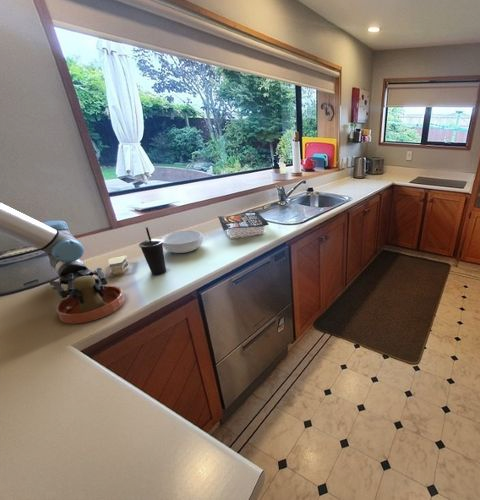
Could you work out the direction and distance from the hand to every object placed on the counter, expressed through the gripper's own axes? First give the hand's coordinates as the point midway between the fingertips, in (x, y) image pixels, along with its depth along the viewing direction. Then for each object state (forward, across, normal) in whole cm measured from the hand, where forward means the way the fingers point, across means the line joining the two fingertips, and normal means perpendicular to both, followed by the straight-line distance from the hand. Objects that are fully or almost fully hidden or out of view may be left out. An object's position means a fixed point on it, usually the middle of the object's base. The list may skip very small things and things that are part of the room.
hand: (91, 296), depth 86 cm
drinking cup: (-15, -23, -8) cm, 29 cm away
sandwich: (-28, -14, -8) cm, 32 cm away
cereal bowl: (-30, -40, -8) cm, 50 cm away
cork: (-5, 0, -7) cm, 8 cm away
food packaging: (-31, -72, -8) cm, 79 cm away
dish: (-5, 0, -8) cm, 9 cm away
